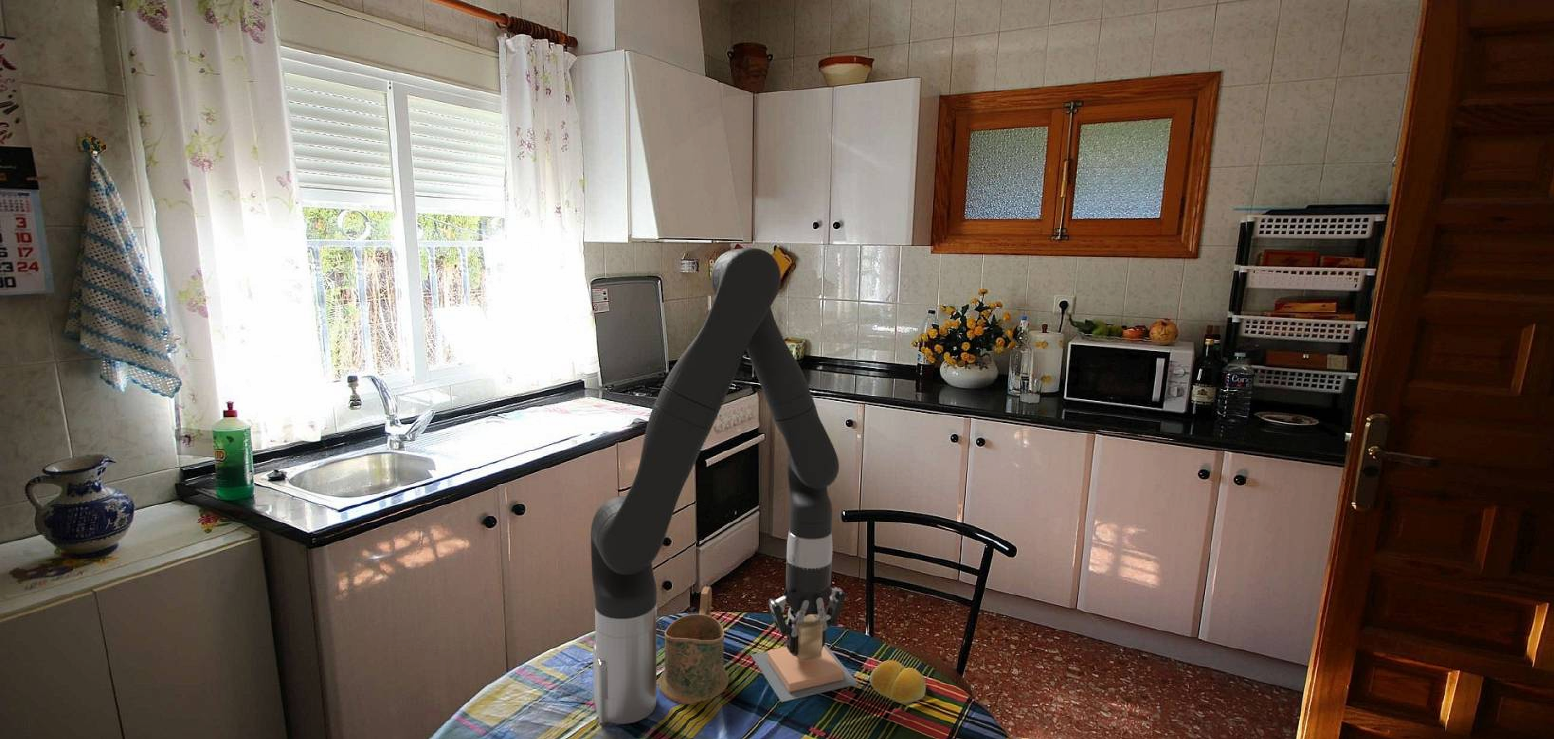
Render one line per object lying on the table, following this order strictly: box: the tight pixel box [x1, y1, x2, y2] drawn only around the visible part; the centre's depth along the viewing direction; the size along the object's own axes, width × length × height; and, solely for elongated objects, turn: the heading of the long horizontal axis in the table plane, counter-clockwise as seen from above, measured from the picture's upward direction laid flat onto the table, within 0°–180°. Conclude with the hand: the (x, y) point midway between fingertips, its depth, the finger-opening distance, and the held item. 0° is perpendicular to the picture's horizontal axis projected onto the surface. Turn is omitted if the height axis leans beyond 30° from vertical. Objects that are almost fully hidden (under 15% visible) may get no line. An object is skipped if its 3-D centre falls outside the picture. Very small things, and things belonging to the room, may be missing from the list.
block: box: [796, 614, 823, 662], centre depth 121 cm, size 4×4×6 cm
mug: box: [658, 586, 730, 705], centre depth 120 cm, size 12×18×12 cm, turn 174°
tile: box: [766, 646, 844, 692], centre depth 122 cm, size 10×2×10 cm
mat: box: [750, 643, 859, 703], centre depth 122 cm, size 14×14×1 cm
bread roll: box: [869, 659, 927, 704], centre depth 118 cm, size 8×9×4 cm
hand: (805, 650), depth 121 cm, fingers closed on block, 4 cm apart
